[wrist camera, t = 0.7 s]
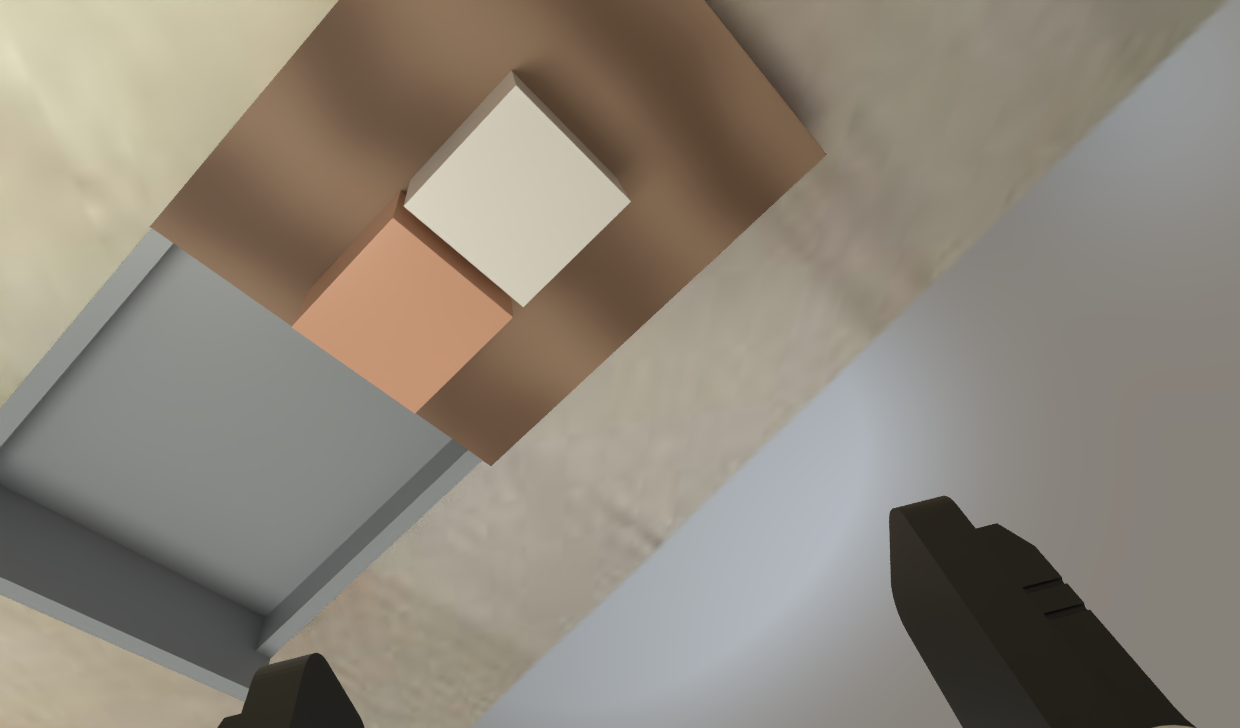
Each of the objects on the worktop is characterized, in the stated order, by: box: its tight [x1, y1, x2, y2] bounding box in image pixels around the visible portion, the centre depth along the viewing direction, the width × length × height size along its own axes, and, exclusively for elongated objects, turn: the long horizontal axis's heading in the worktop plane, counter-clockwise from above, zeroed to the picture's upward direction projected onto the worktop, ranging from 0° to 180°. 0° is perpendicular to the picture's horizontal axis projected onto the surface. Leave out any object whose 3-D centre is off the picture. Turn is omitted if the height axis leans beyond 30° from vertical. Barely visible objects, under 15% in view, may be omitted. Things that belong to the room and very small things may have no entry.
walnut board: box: [150, 0, 826, 466], centre depth 29 cm, size 18×15×4 cm
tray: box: [0, 228, 482, 702], centre depth 32 cm, size 16×15×4 cm
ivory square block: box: [404, 71, 631, 307], centre depth 26 cm, size 5×5×3 cm
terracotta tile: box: [291, 191, 513, 414], centre depth 27 cm, size 5×5×3 cm
